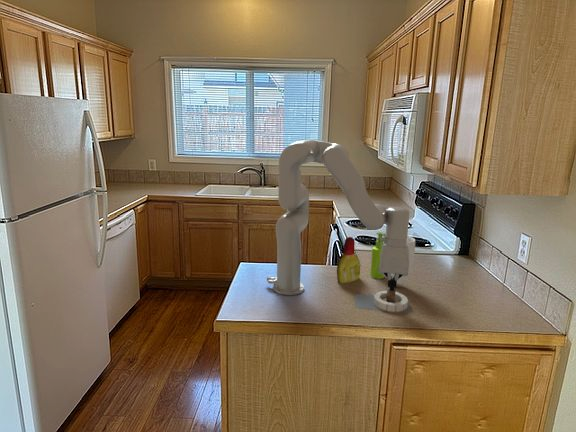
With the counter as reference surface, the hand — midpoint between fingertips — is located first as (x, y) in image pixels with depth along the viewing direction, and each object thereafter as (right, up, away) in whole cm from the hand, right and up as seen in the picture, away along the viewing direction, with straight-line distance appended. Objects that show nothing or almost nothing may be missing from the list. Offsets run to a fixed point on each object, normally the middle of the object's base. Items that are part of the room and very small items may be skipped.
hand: (391, 288), depth 148 cm
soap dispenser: (+2, 0, +29) cm, 29 cm away
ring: (0, -6, +2) cm, 6 cm away
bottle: (-13, -1, +23) cm, 27 cm away
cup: (+7, -3, +17) cm, 19 cm away
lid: (0, -6, +1) cm, 6 cm away
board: (-3, -7, +2) cm, 8 cm away
